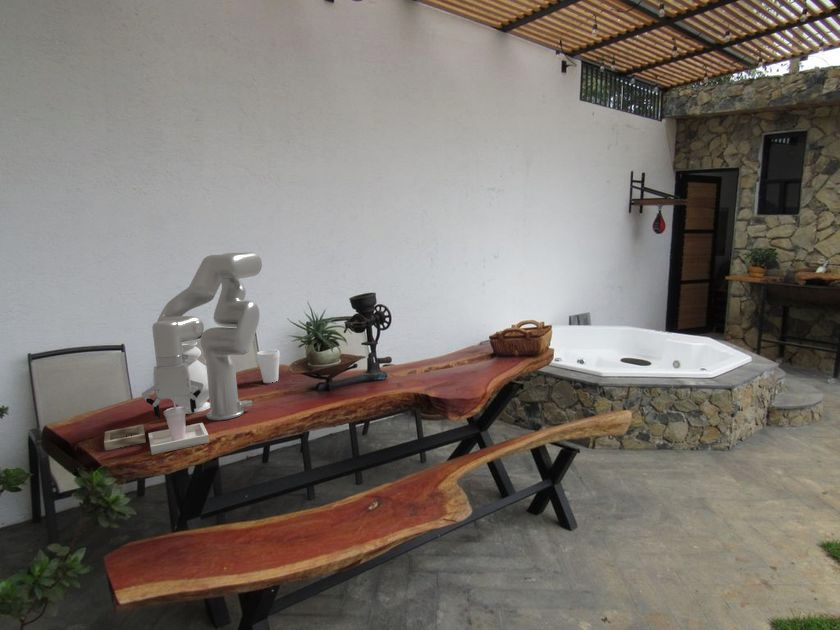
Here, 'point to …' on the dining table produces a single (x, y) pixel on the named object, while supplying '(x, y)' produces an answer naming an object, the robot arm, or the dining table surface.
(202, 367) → the decorative vase
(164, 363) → the robot arm
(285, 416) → the dining table surface
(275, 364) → the foam cup
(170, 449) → the tray
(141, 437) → the frame
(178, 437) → the smoothie
